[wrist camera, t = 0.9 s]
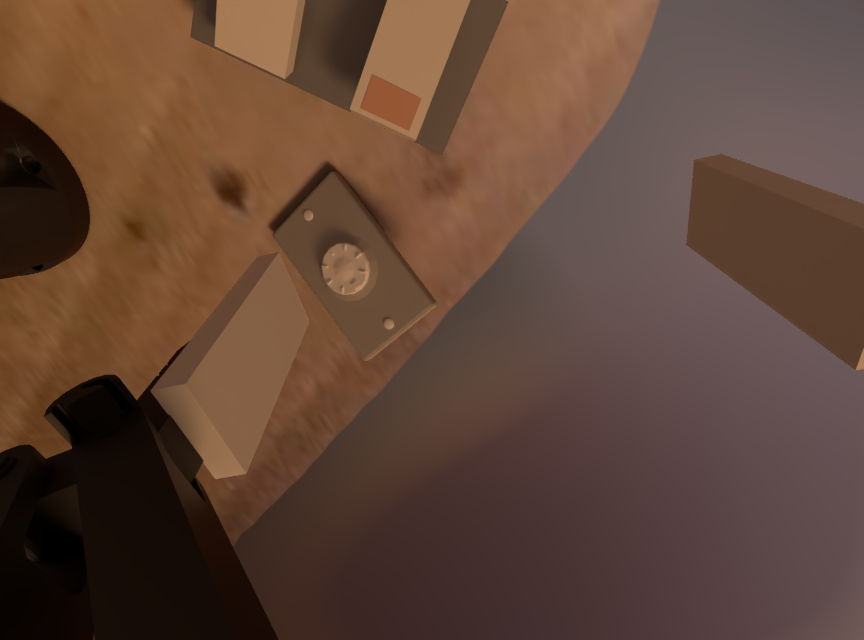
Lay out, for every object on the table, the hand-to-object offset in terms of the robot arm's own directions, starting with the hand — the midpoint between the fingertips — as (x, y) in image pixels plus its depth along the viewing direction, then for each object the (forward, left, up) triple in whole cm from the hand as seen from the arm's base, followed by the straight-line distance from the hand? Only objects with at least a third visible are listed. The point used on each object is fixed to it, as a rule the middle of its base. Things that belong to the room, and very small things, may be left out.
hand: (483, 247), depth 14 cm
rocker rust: (-5, +4, -18) cm, 19 cm away
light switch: (-4, -13, -26) cm, 29 cm away
